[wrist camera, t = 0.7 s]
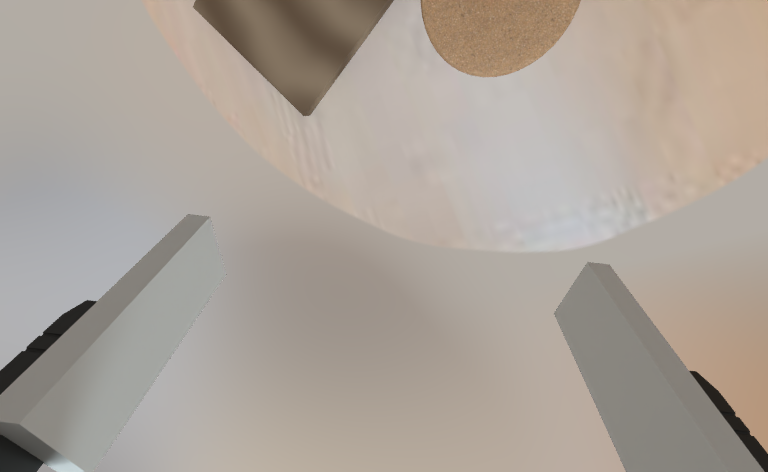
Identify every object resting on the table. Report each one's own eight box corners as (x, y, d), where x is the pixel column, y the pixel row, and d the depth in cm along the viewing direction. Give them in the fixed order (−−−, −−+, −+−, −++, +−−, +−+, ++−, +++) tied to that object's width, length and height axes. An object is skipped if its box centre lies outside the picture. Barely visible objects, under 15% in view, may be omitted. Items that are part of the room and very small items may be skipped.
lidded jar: (412, -18, 29) (393, -68, 20) (538, -91, 25) (579, -190, 17) (450, 101, 32) (447, 100, 23) (567, 50, 28) (614, 27, 20)
